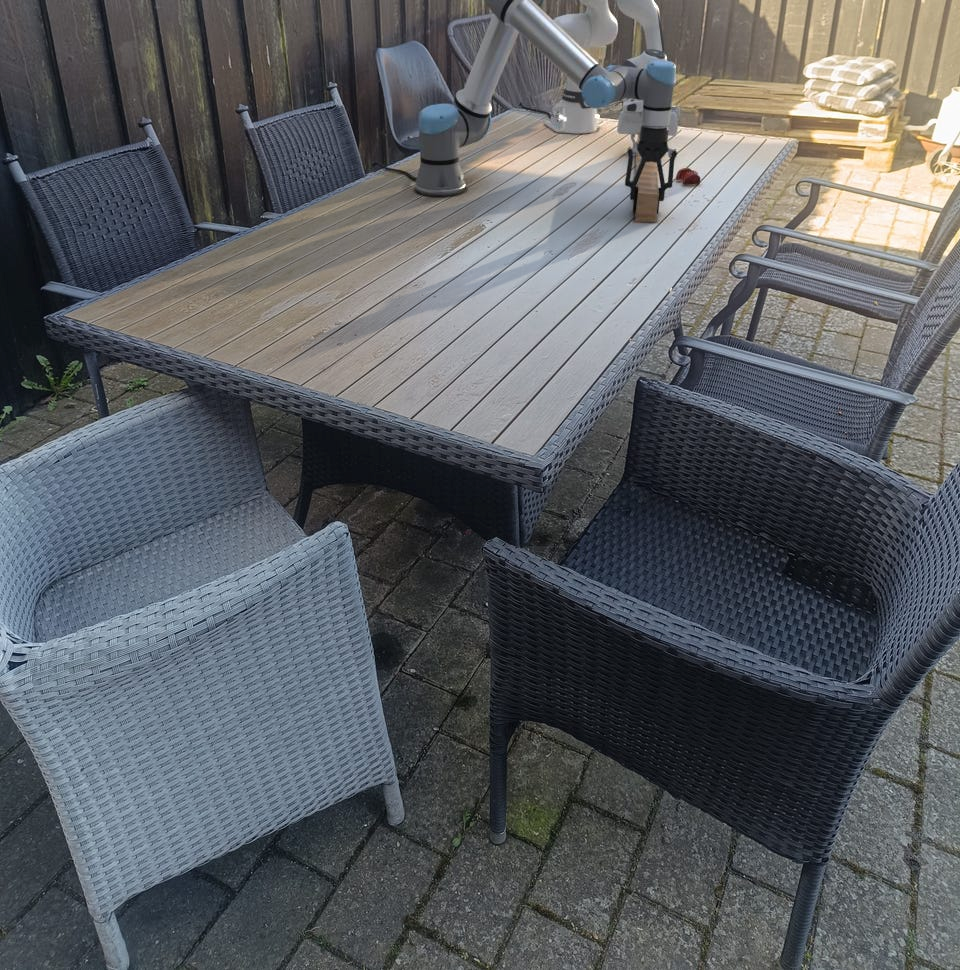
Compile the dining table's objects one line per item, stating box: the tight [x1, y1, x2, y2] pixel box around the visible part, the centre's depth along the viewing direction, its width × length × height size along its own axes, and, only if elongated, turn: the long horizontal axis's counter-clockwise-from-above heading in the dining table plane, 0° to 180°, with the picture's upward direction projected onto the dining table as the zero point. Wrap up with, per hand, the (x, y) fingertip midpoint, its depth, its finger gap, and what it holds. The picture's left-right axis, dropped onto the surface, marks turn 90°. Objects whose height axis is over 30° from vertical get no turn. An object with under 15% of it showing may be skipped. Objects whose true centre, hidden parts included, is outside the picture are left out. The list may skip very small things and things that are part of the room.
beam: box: [634, 133, 660, 223], centre depth 263 cm, size 78×6×8 cm, turn 171°
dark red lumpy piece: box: [675, 167, 701, 186], centre depth 263 cm, size 6×4×8 cm
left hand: (645, 211), depth 240 cm, fingers closed on beam, 6 cm apart
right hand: (645, 148), depth 289 cm, fingers closed on beam, 5 cm apart
